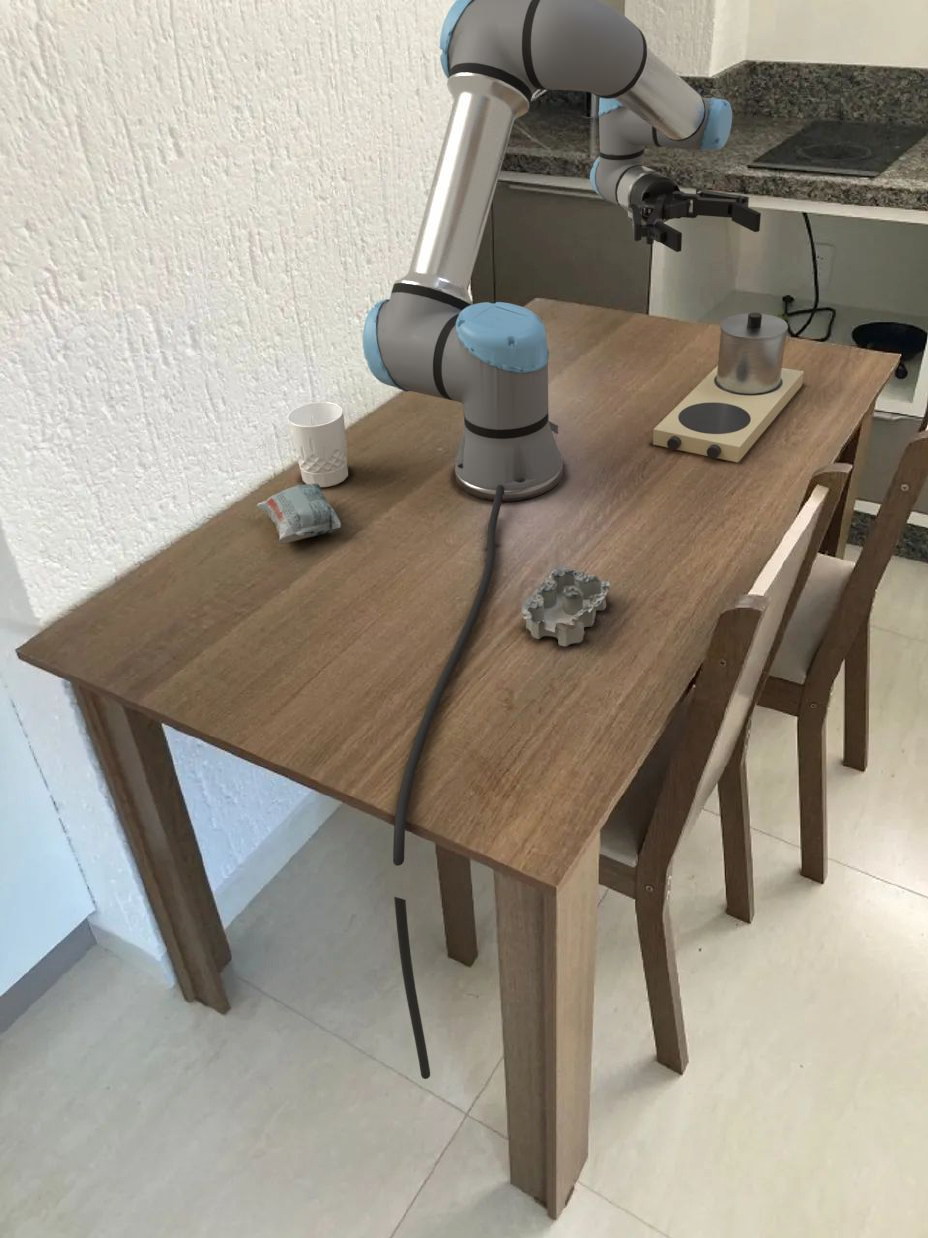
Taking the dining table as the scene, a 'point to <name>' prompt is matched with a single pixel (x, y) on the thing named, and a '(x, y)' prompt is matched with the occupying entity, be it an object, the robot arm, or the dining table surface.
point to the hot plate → (724, 418)
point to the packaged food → (300, 513)
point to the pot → (751, 353)
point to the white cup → (319, 442)
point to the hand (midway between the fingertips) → (719, 232)
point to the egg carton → (564, 605)
